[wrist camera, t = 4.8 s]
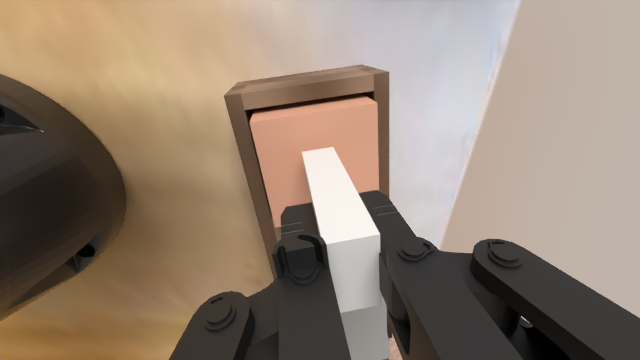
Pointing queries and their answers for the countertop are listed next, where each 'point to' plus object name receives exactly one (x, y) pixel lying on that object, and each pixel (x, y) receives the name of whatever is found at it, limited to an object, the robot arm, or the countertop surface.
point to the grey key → (367, 332)
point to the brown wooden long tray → (297, 90)
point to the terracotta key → (315, 144)
